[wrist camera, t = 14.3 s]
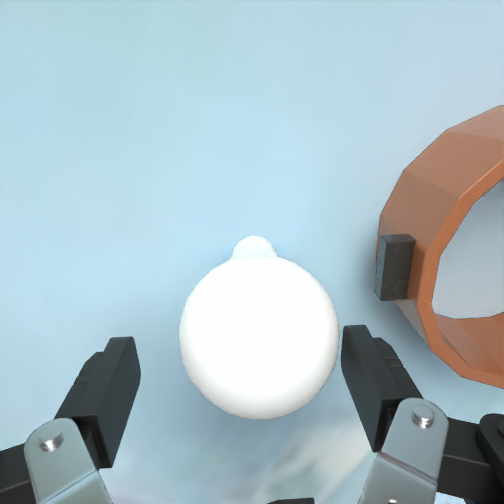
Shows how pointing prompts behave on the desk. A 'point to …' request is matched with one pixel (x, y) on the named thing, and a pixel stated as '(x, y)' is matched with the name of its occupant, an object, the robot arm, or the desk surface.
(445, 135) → the copper pot
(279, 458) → the desk surface
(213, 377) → the lightbulb
